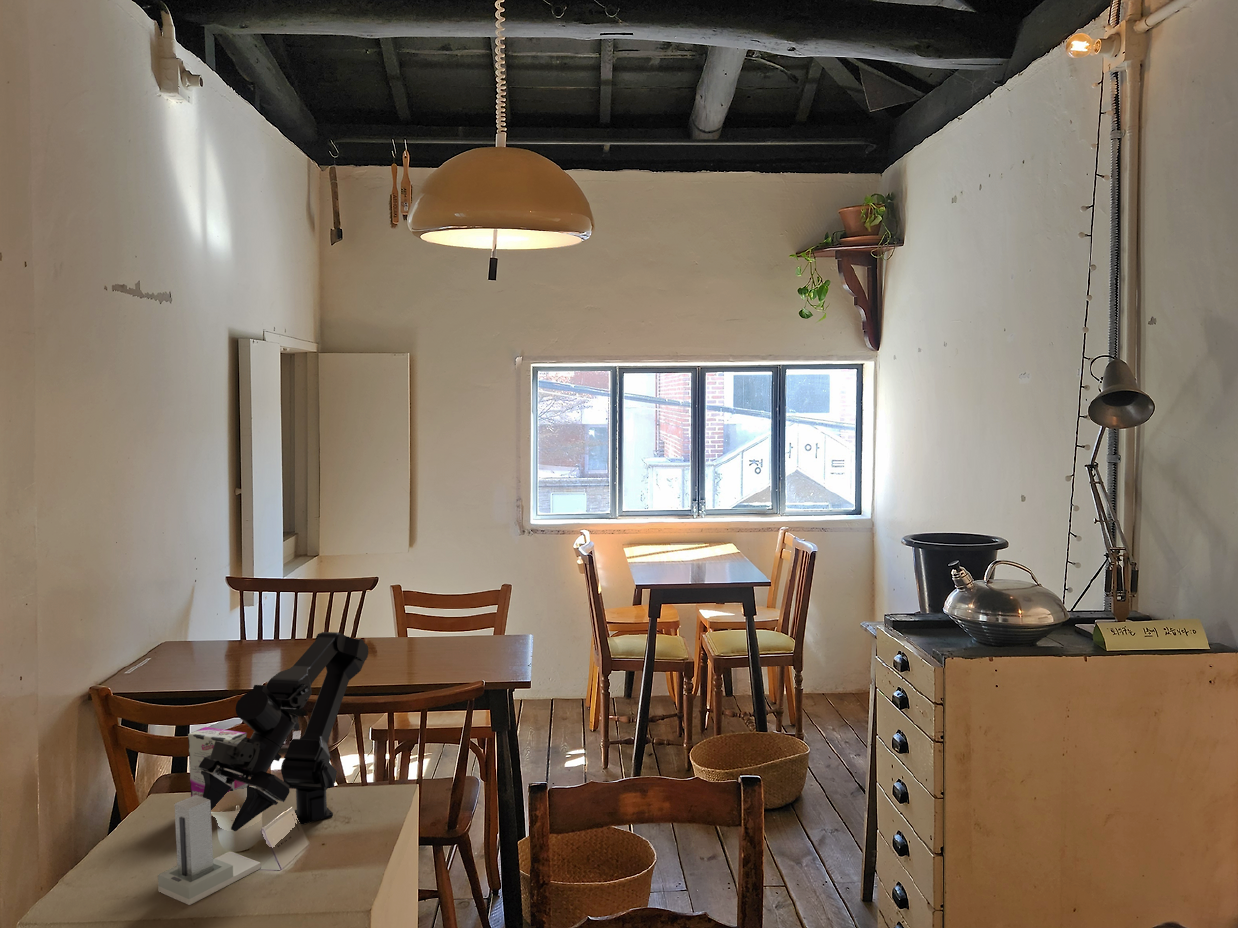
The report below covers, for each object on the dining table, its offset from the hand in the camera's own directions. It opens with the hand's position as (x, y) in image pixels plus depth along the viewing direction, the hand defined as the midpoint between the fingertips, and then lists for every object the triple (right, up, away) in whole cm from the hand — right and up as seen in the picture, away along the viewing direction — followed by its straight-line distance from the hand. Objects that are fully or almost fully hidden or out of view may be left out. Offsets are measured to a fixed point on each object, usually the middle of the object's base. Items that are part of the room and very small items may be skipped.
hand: (216, 823), depth 165 cm
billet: (-2, -9, -3) cm, 9 cm away
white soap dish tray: (-1, -9, -1) cm, 9 cm away
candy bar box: (-10, -8, +26) cm, 29 cm away
